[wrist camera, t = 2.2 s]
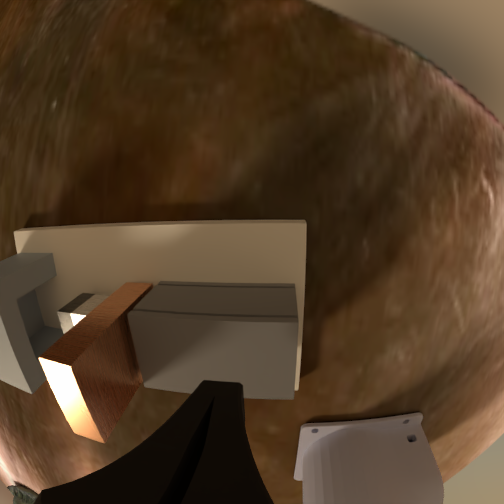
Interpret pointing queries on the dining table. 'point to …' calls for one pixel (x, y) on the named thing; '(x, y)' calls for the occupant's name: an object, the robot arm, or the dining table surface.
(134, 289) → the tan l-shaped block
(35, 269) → the socket block
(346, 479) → the robot arm
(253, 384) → the cream rectangular panel
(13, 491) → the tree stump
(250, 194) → the dining table surface
